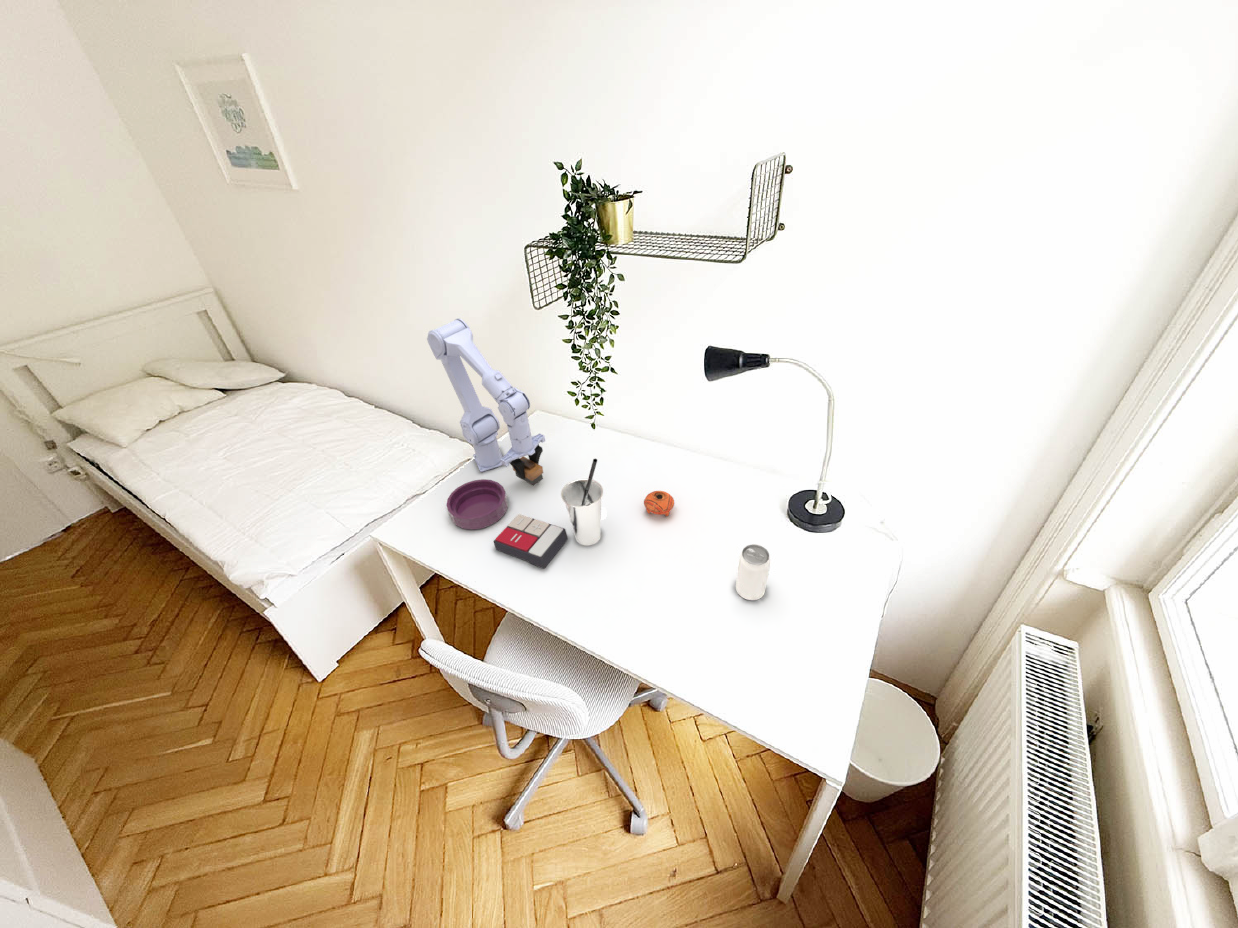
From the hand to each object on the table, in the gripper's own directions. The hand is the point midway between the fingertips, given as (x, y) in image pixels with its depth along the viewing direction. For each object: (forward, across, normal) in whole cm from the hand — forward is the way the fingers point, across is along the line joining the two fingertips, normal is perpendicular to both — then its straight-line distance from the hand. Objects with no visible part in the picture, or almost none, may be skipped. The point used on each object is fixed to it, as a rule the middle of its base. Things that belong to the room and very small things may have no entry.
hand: (528, 472), depth 150 cm
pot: (+4, +13, -37) cm, 39 cm away
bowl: (+4, -16, +3) cm, 17 cm away
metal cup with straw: (+4, -6, -28) cm, 29 cm away
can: (+4, +5, -68) cm, 69 cm away
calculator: (+4, -16, -18) cm, 24 cm away
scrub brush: (+2, 0, 0) cm, 2 cm away
